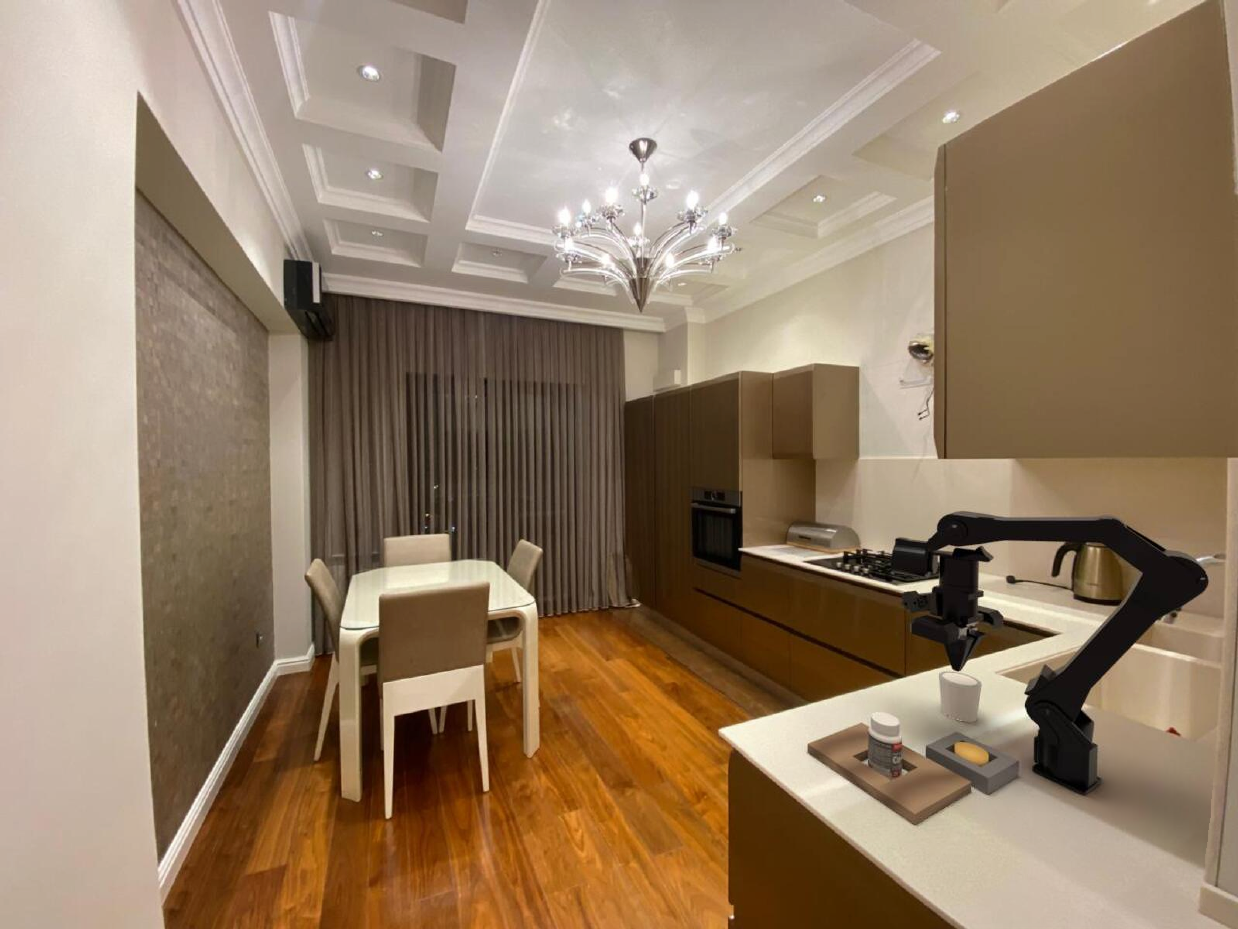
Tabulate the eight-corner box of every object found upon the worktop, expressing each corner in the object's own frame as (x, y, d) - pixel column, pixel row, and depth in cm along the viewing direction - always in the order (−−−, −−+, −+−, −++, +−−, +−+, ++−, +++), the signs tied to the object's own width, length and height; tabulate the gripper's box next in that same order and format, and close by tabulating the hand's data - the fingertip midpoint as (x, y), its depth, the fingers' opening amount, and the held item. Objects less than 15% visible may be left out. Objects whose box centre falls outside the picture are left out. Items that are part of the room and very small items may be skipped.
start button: (993, 769, 77) (994, 753, 77) (979, 778, 75) (979, 762, 75) (963, 754, 81) (963, 739, 81) (948, 762, 79) (948, 746, 79)
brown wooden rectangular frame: (971, 792, 72) (971, 782, 72) (914, 825, 66) (915, 814, 66) (861, 730, 88) (861, 722, 88) (807, 752, 82) (807, 743, 82)
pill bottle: (899, 785, 74) (900, 730, 74) (864, 772, 77) (865, 720, 77) (903, 769, 78) (904, 717, 77) (870, 757, 81) (871, 707, 80)
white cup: (929, 709, 96) (930, 674, 96) (951, 702, 99) (951, 668, 99) (967, 727, 90) (967, 690, 89) (988, 719, 93) (989, 682, 92)
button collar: (1018, 776, 76) (1018, 760, 76) (988, 795, 72) (988, 778, 72) (956, 745, 84) (956, 731, 84) (925, 760, 80) (925, 745, 80)
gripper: (940, 567, 97) (939, 645, 98) (881, 578, 89) (880, 663, 89) (1005, 580, 87) (1004, 666, 88) (946, 594, 79) (944, 689, 79)
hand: (956, 670), depth 86 cm, fingers closed
